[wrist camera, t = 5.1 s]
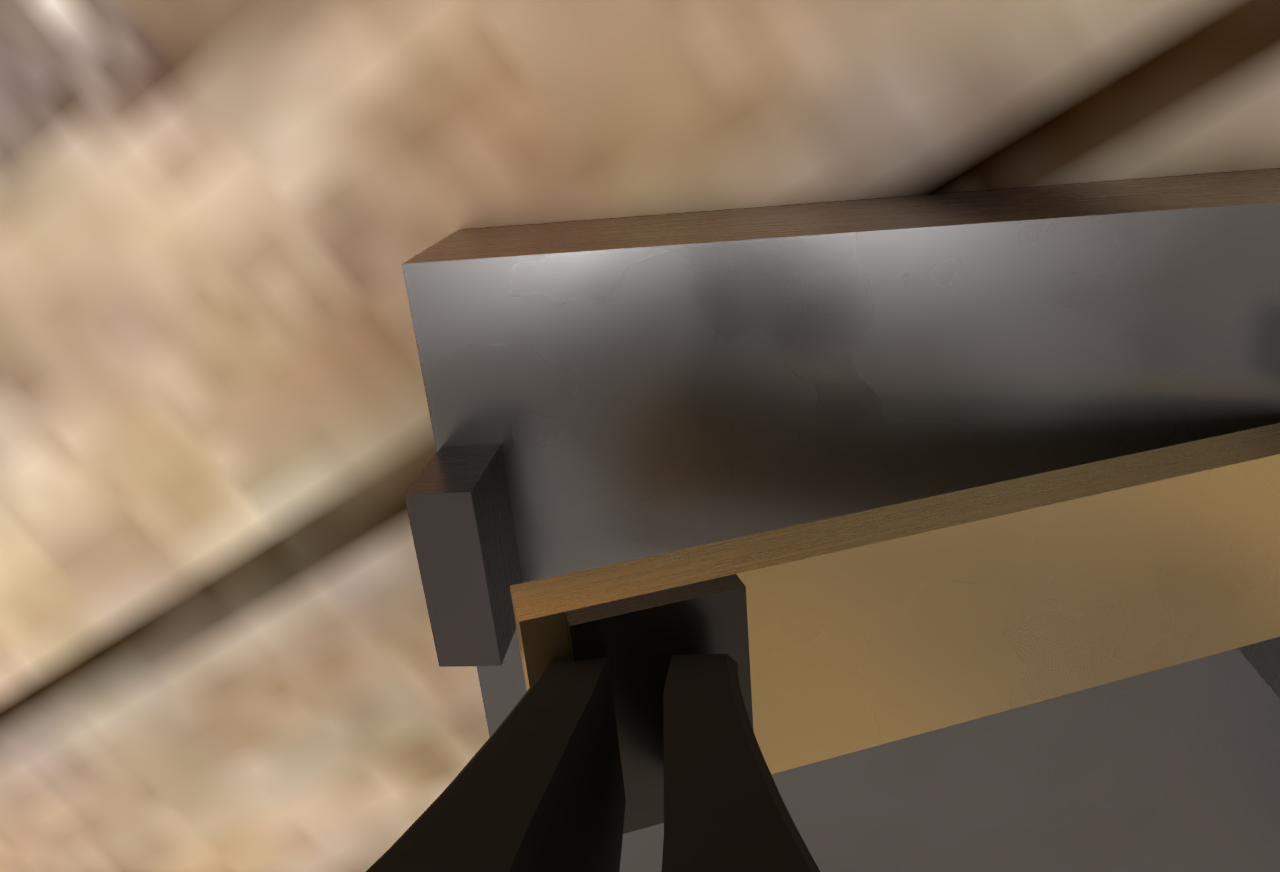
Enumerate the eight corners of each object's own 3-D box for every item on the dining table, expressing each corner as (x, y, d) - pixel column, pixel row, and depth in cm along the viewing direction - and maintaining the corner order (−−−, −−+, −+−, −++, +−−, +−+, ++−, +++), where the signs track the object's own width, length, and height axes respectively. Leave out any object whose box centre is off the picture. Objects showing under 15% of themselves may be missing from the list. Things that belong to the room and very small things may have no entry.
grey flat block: (1362, 161, 15) (1627, 207, 10) (1177, 1103, 23) (1280, 1348, 19) (458, 230, 17) (355, 291, 12) (594, 1075, 25) (563, 1291, 21)
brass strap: (1340, 410, 13) (1418, 436, 12) (1302, 590, 14) (1371, 627, 13) (509, 585, 11) (523, 636, 10) (542, 787, 12) (557, 851, 11)
